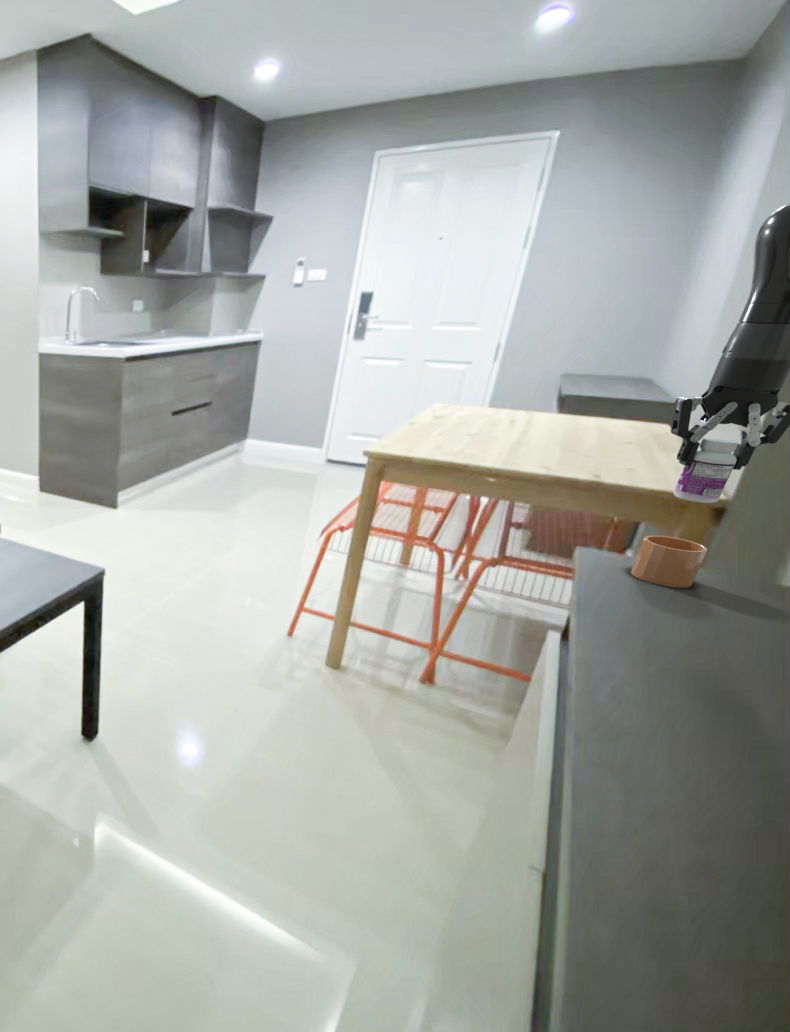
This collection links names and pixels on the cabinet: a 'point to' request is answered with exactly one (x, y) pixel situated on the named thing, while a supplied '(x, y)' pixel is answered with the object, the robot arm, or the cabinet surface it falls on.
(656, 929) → the cabinet surface
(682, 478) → the pill bottle
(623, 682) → the cabinet surface
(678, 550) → the holder
